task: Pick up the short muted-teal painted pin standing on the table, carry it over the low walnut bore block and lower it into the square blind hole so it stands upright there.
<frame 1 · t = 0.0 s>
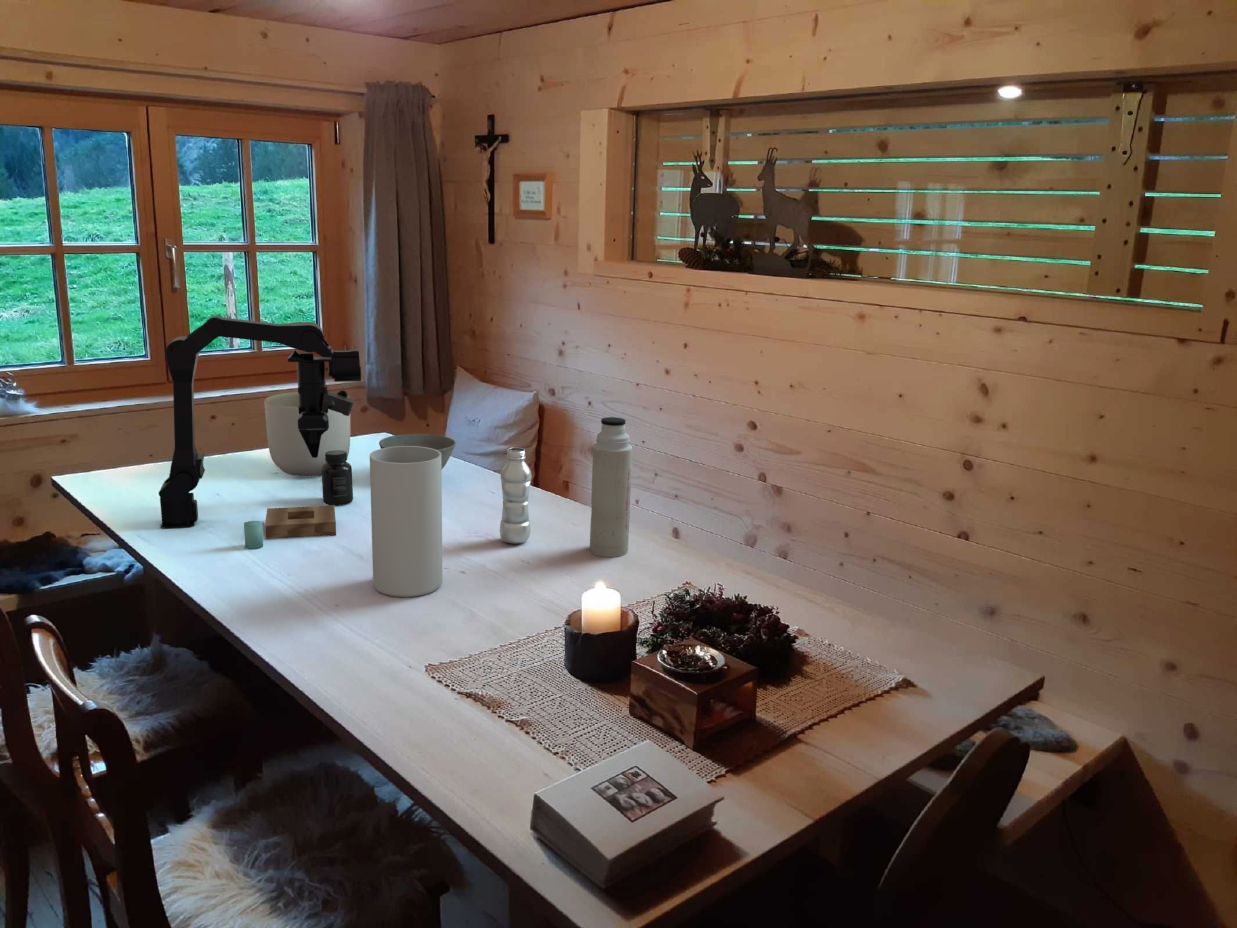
hand: (314, 452, 213), 15 cm above the table, fingers open, 9 cm apart
planter: (310, 471, 252), on the table
bowl: (417, 480, 248), on the table
bore block: (301, 528, 208), on the table
supplement bottle: (338, 502, 227), on the table
pin: (254, 546, 196), on the table
thermos bottle: (608, 551, 202), on the table
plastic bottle: (515, 542, 205), on the table
cylinder vase: (408, 586, 180), on the table
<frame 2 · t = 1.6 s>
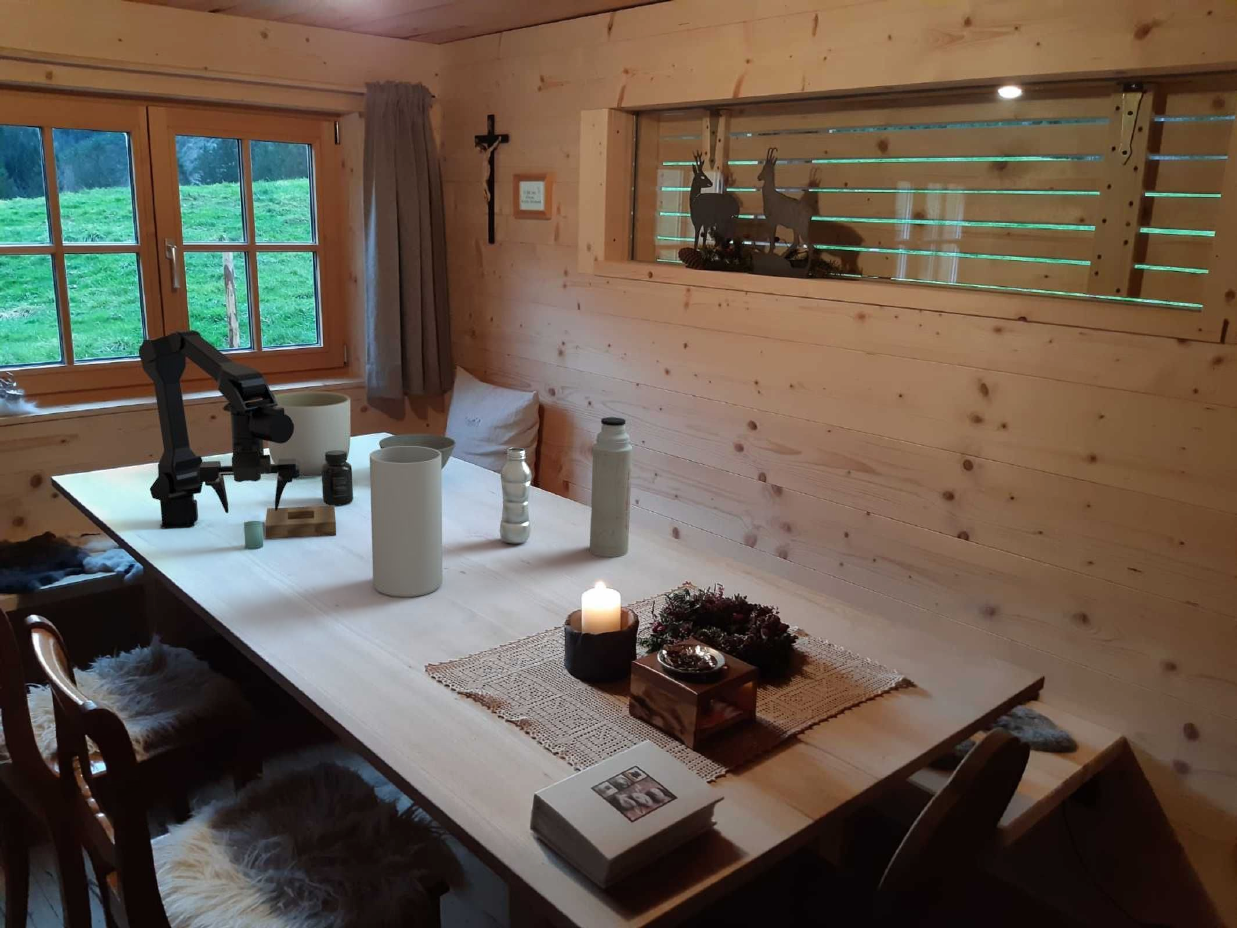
hand: (251, 511, 194), 7 cm above the table, fingers open, 9 cm apart
nothing on the table moved.
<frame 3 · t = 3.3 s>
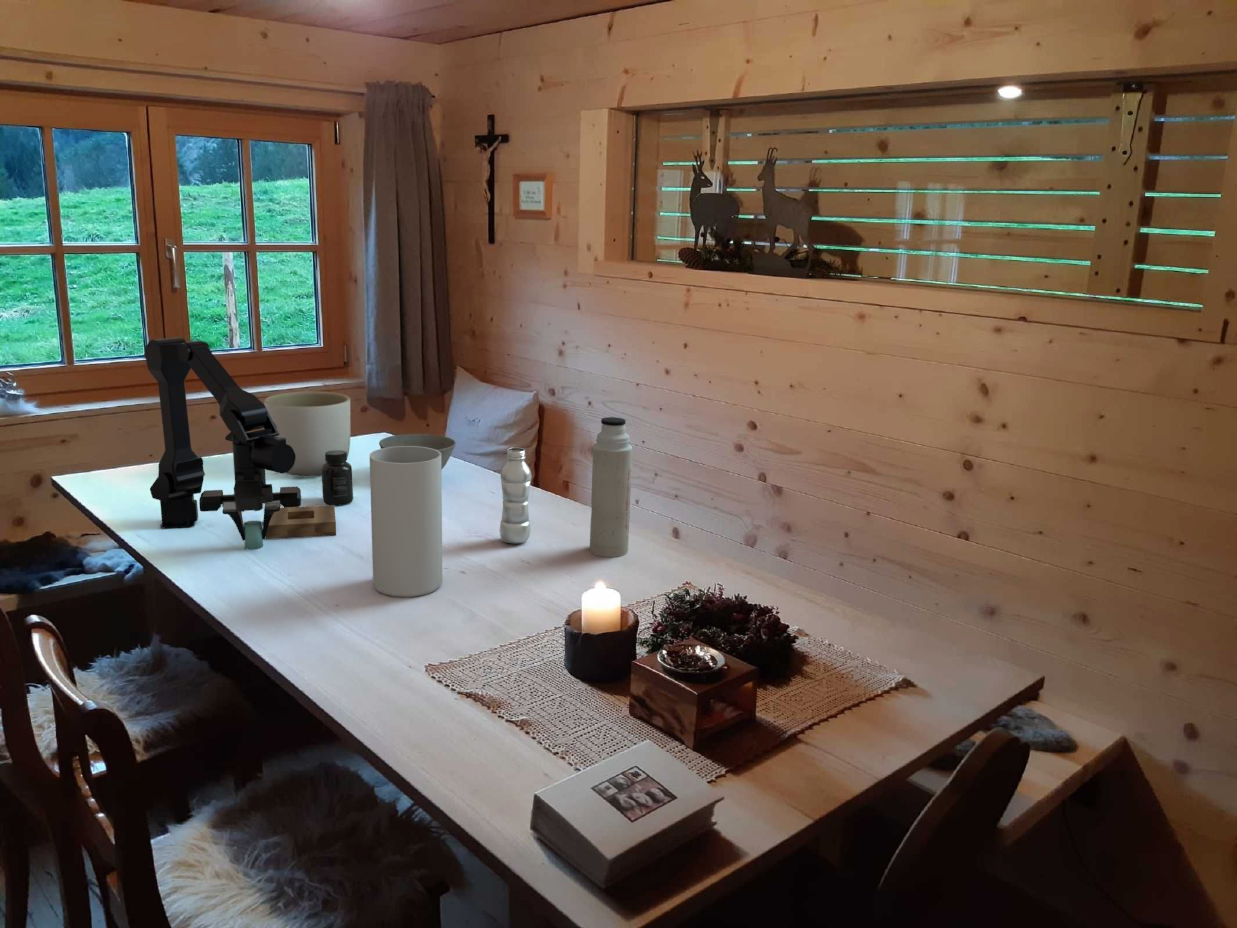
hand: (253, 539, 196), 2 cm above the table, fingers closed on pin, 3 cm apart
pin: (254, 546, 196), on the table, touching gripper
everything else where it was.
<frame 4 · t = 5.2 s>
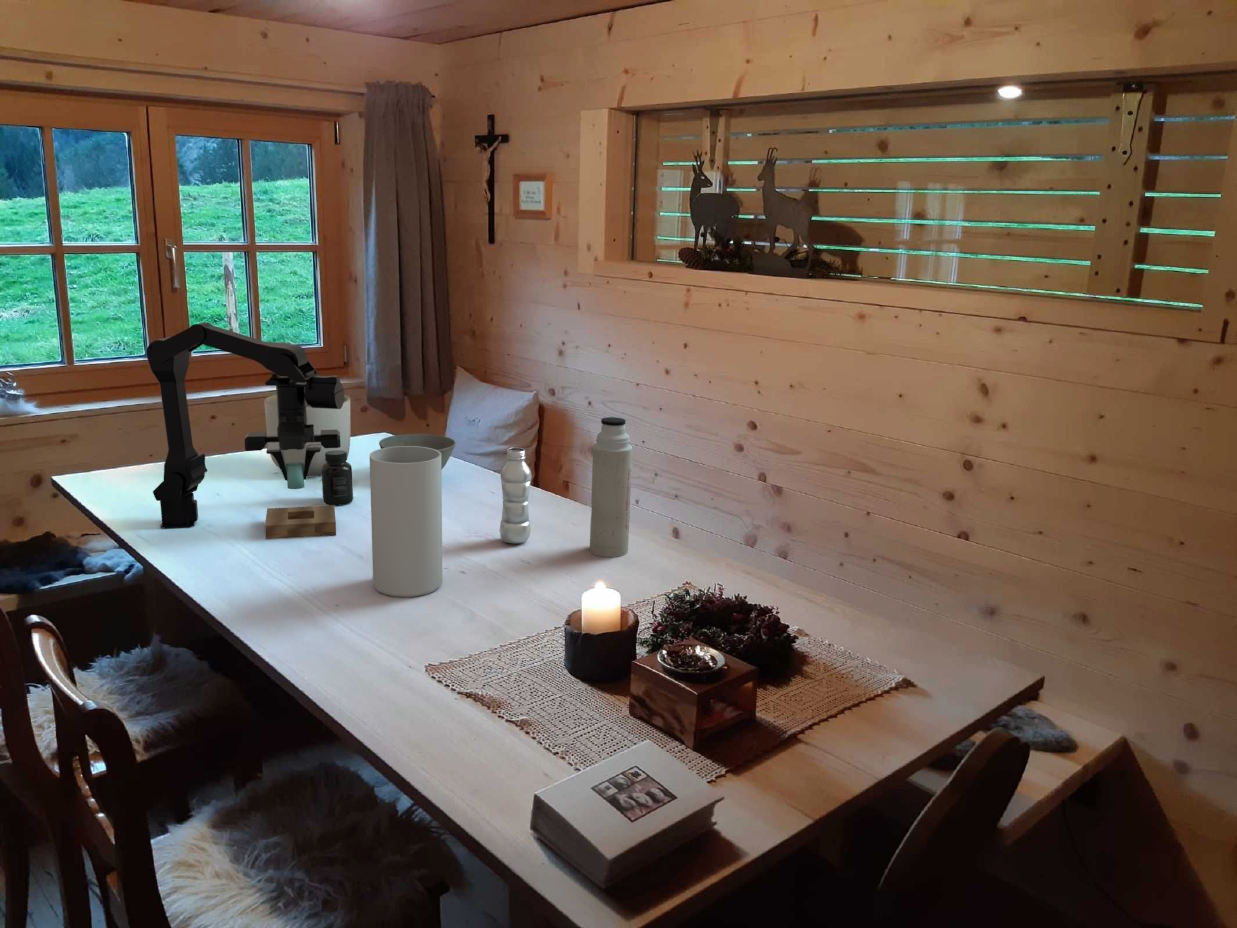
hand: (295, 479, 204), 11 cm above the table, fingers closed on pin, 3 cm apart
pin: (296, 486, 204), point 10 cm above the table, touching gripper
everything else where it was.
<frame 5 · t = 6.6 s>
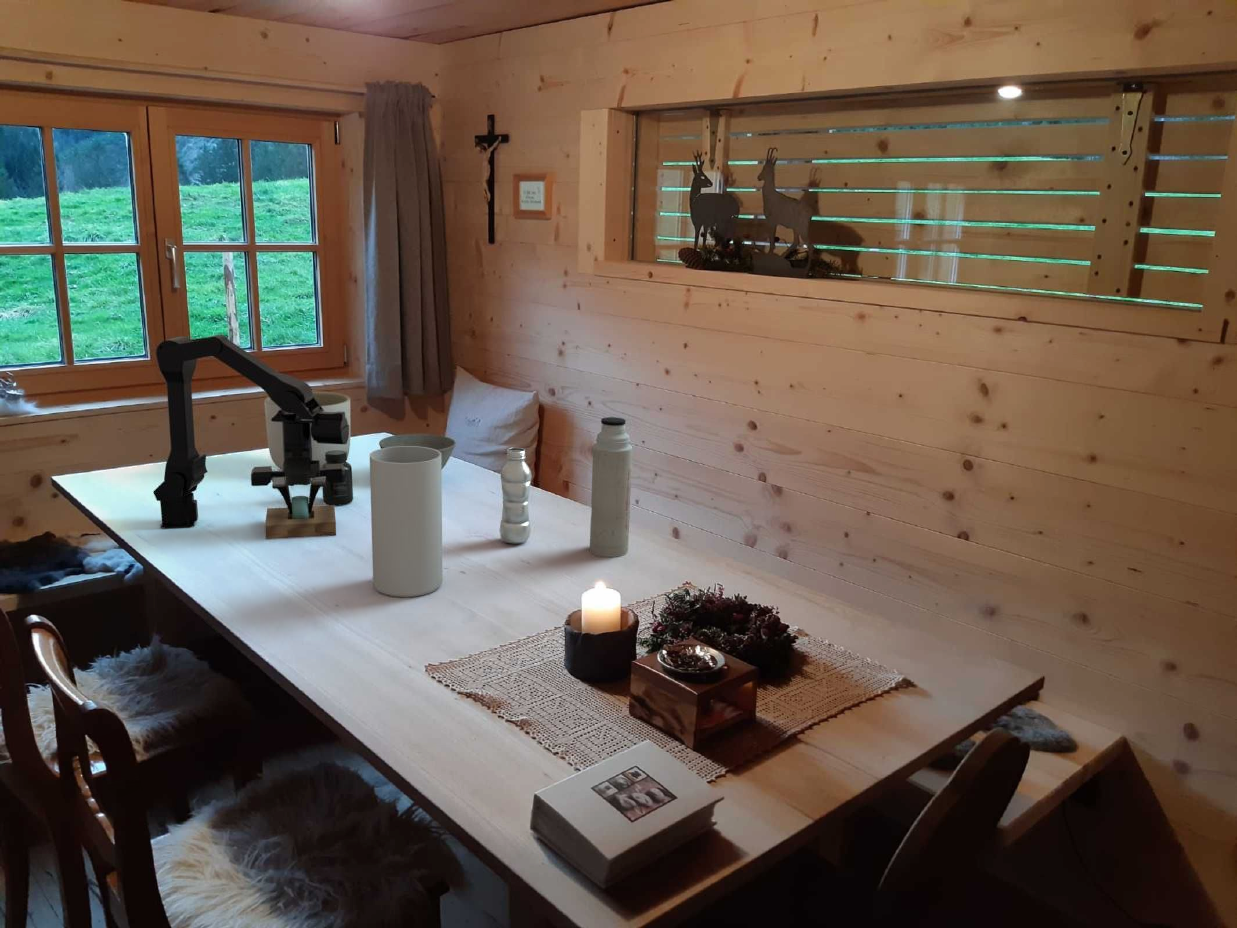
hand: (300, 513, 207), 3 cm above the table, fingers closed on pin, 3 cm apart
pin: (300, 520, 207), point 2 cm above the table, touching gripper
everything else where it was.
when the fingers open (3 cm above the table, at t = 7.5 s): pin stays where it is, resting on bore block.
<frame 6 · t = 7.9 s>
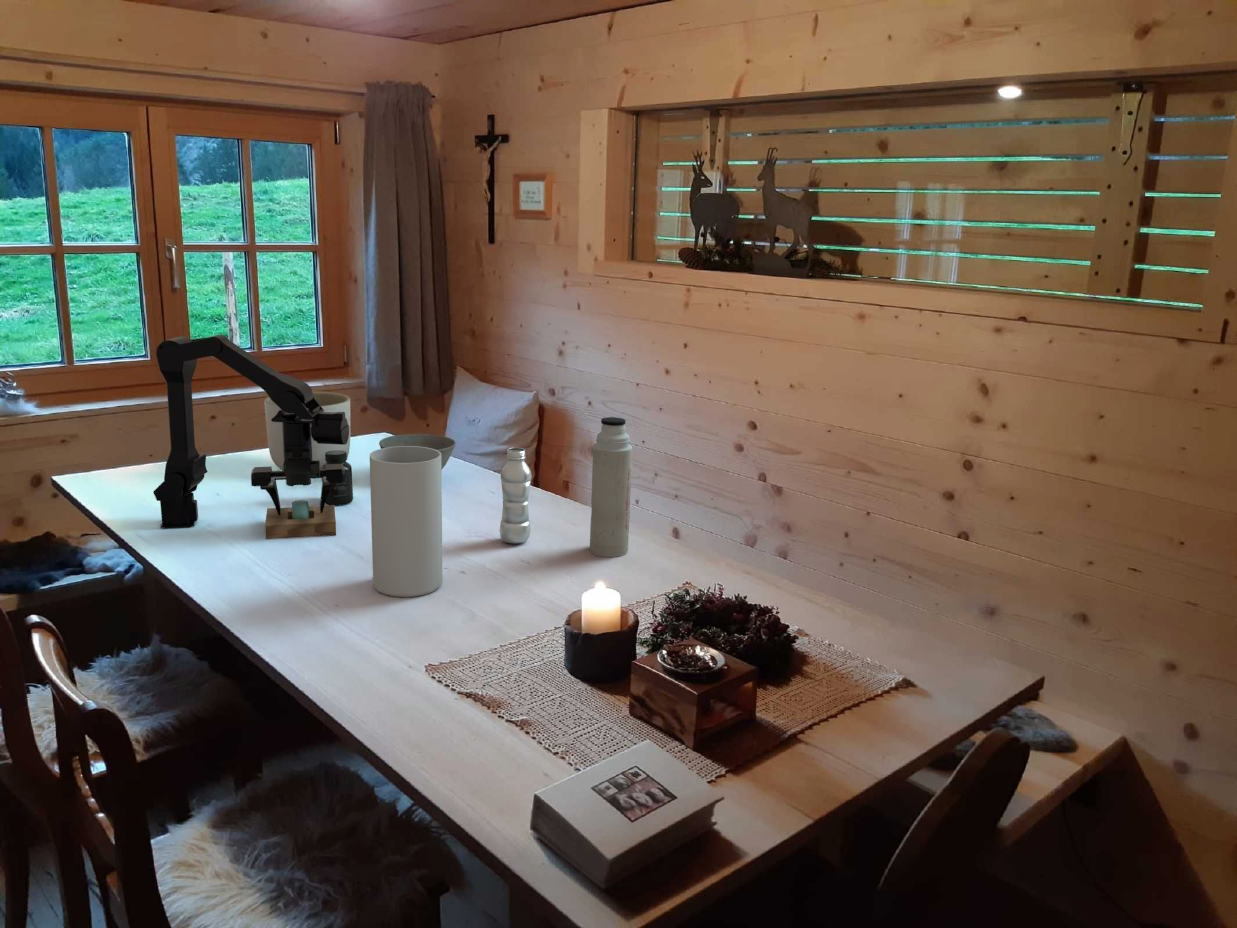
hand: (300, 513, 207), 3 cm above the table, fingers open, 8 cm apart
pin: (301, 524, 208), point 1 cm above the table, touching bore block
everything else where it was.
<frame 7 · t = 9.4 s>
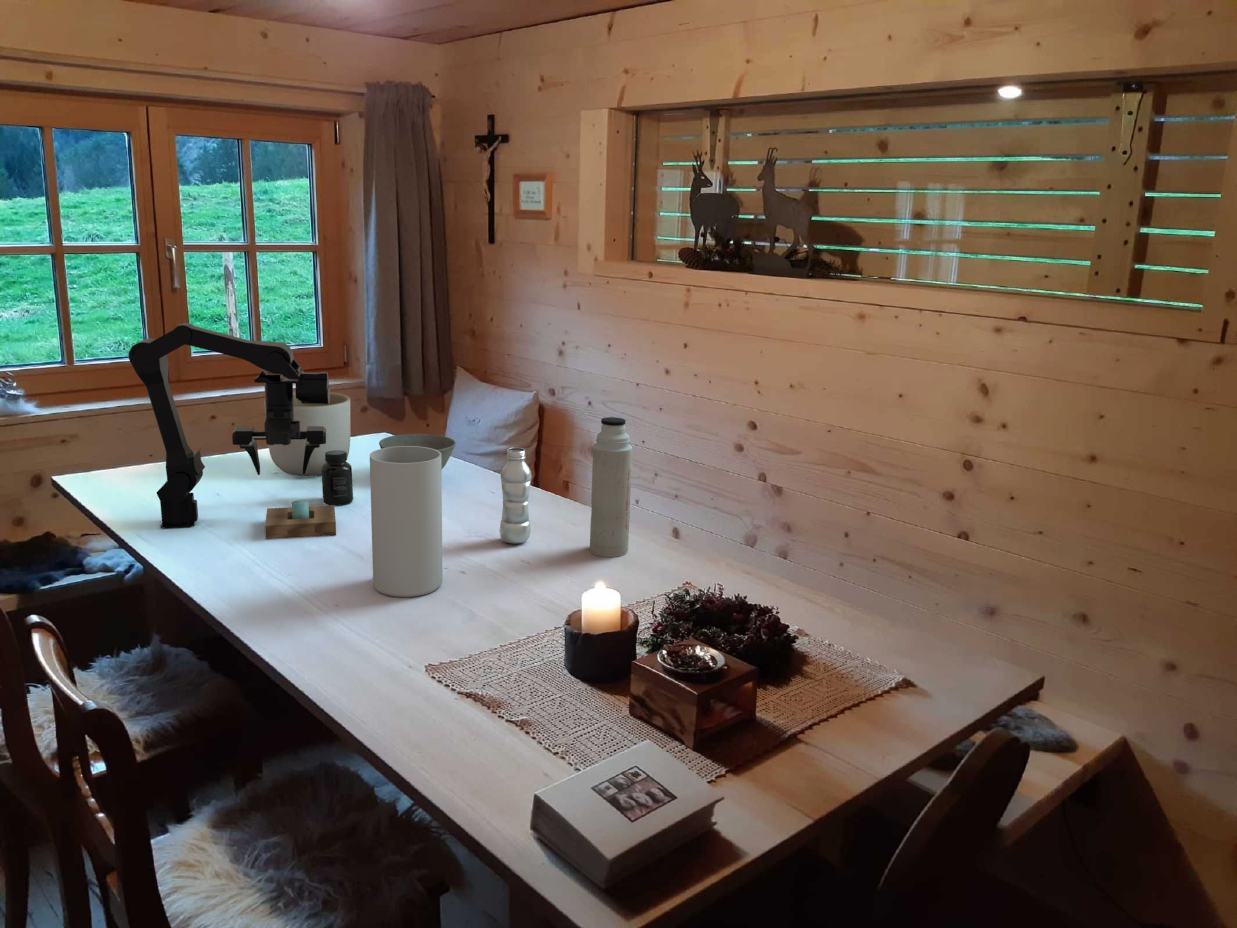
hand: (281, 474, 210), 11 cm above the table, fingers open, 9 cm apart
nothing on the table moved.
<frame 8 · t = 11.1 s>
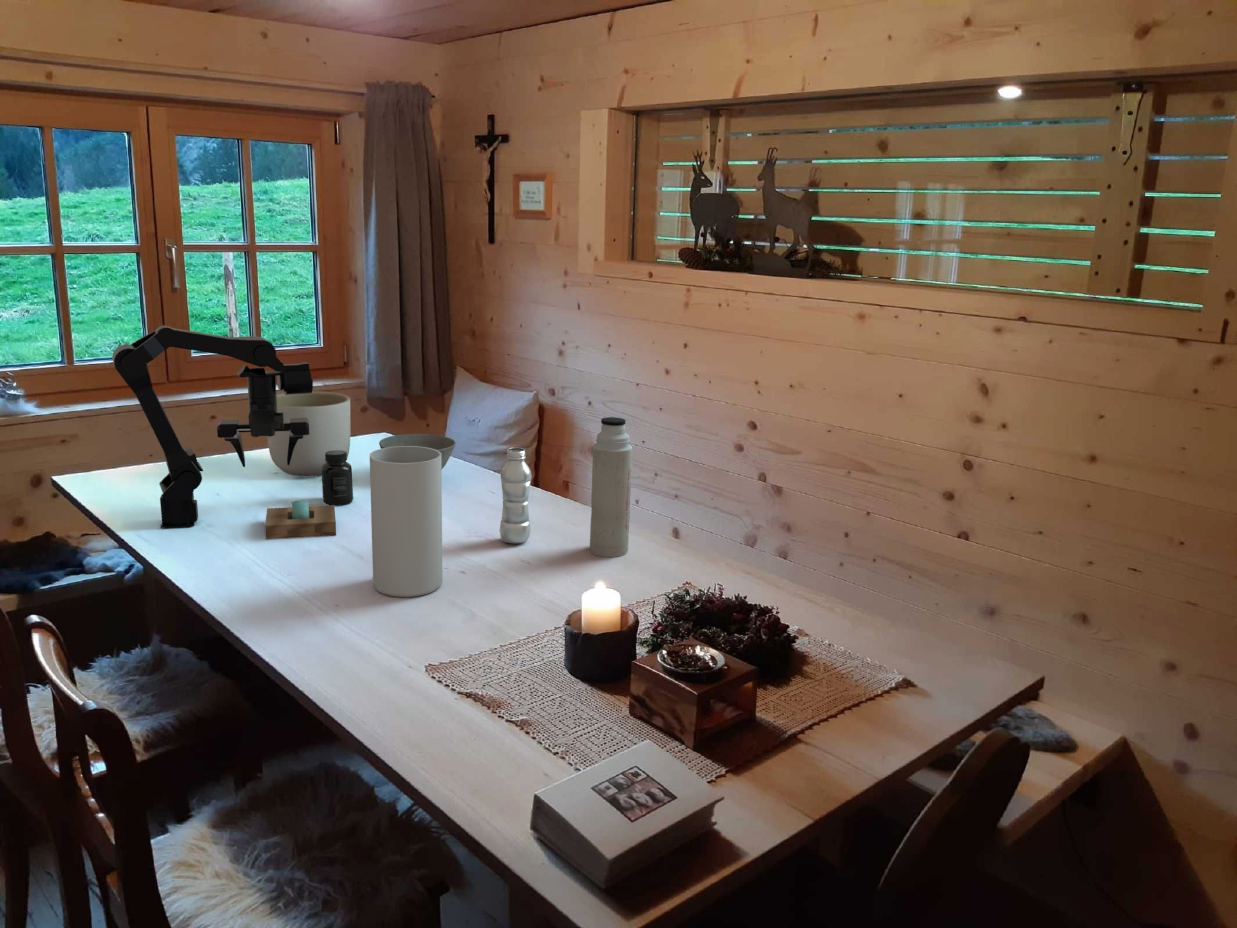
hand: (266, 465, 214), 11 cm above the table, fingers open, 9 cm apart
nothing on the table moved.
at the end: pin 0.1 cm off-centre on the bore block, point 0.8 cm above the bore block's base; pin tilted 0°; the gripper is holding nothing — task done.
